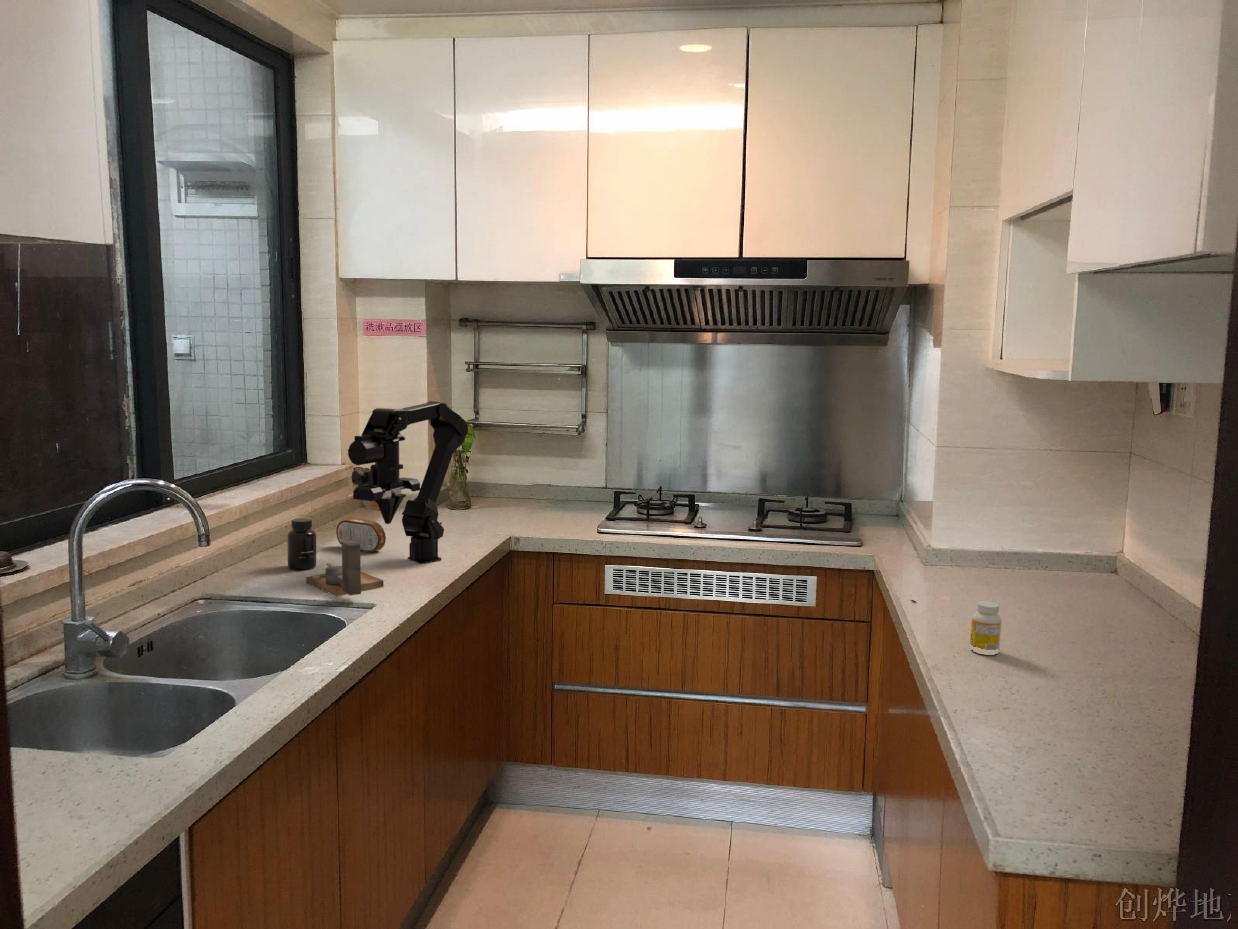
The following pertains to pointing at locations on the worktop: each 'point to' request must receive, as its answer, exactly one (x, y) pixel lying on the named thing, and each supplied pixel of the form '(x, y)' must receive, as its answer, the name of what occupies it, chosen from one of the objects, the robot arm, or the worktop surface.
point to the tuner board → (337, 589)
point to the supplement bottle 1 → (301, 545)
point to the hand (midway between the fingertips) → (387, 523)
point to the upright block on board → (346, 569)
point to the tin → (362, 533)
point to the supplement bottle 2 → (986, 626)
